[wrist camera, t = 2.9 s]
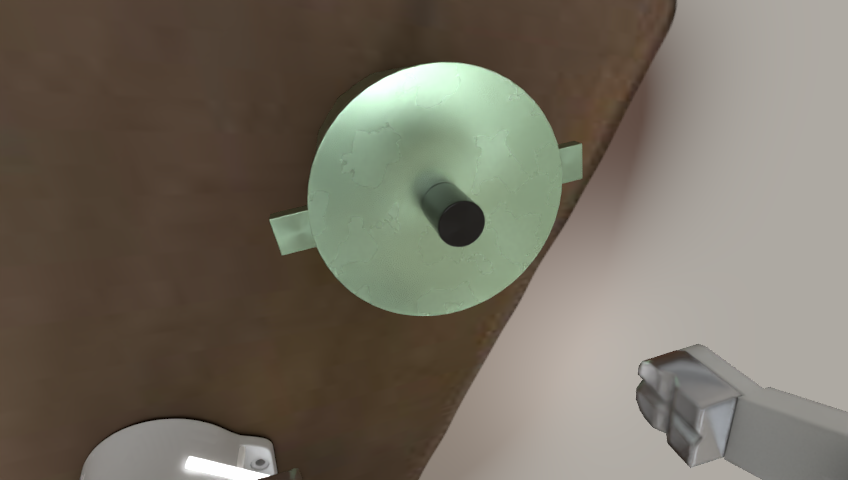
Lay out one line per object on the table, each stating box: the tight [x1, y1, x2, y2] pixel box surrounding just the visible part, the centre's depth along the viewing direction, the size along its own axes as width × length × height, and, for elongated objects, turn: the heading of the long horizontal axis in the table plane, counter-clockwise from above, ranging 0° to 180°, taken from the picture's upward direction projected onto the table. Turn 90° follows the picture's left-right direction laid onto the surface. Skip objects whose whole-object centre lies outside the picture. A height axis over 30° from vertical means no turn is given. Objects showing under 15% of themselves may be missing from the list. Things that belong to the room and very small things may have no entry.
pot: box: [269, 66, 582, 255], centre depth 30 cm, size 15×20×10 cm
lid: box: [307, 62, 562, 316], centre depth 24 cm, size 16×16×5 cm
